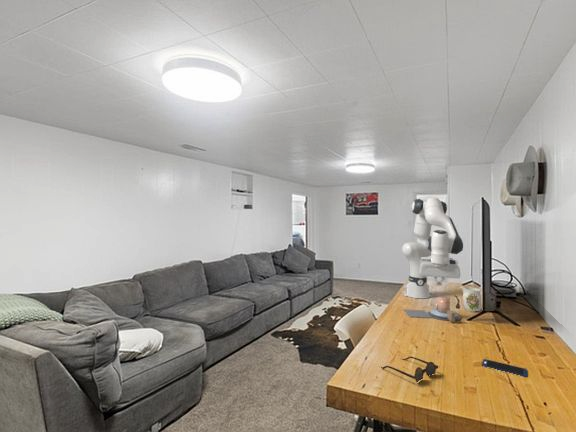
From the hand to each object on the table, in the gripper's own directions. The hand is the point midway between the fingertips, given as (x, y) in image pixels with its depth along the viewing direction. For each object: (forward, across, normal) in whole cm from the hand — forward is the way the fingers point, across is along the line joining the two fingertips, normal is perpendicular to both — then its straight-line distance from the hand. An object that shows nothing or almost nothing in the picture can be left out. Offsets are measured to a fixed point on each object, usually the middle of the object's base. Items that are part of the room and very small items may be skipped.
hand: (439, 285), depth 176 cm
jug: (+17, +4, +10) cm, 20 cm away
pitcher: (+19, +24, +29) cm, 42 cm away
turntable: (+18, +5, +6) cm, 20 cm away
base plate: (+19, +4, +9) cm, 21 cm away
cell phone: (+20, +16, -54) cm, 60 cm away
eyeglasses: (+20, -19, -70) cm, 75 cm away
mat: (+19, -10, +7) cm, 23 cm away
